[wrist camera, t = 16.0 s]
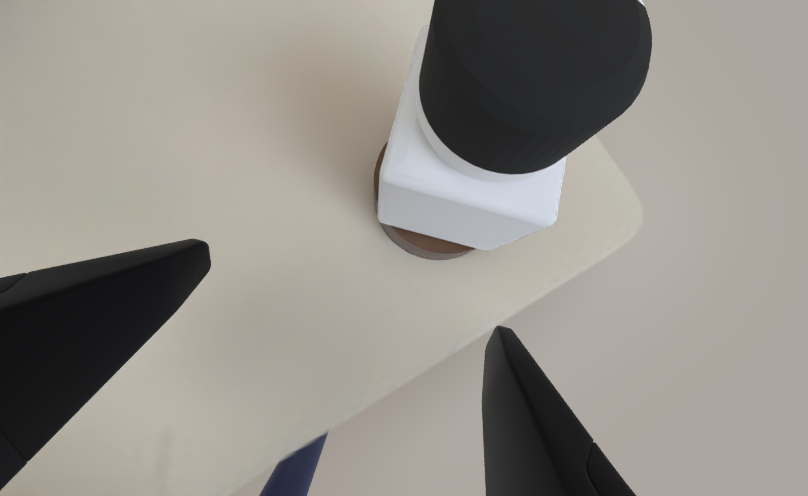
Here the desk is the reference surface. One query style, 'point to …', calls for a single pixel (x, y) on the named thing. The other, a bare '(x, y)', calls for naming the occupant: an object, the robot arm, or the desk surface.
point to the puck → (417, 241)
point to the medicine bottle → (505, 112)
